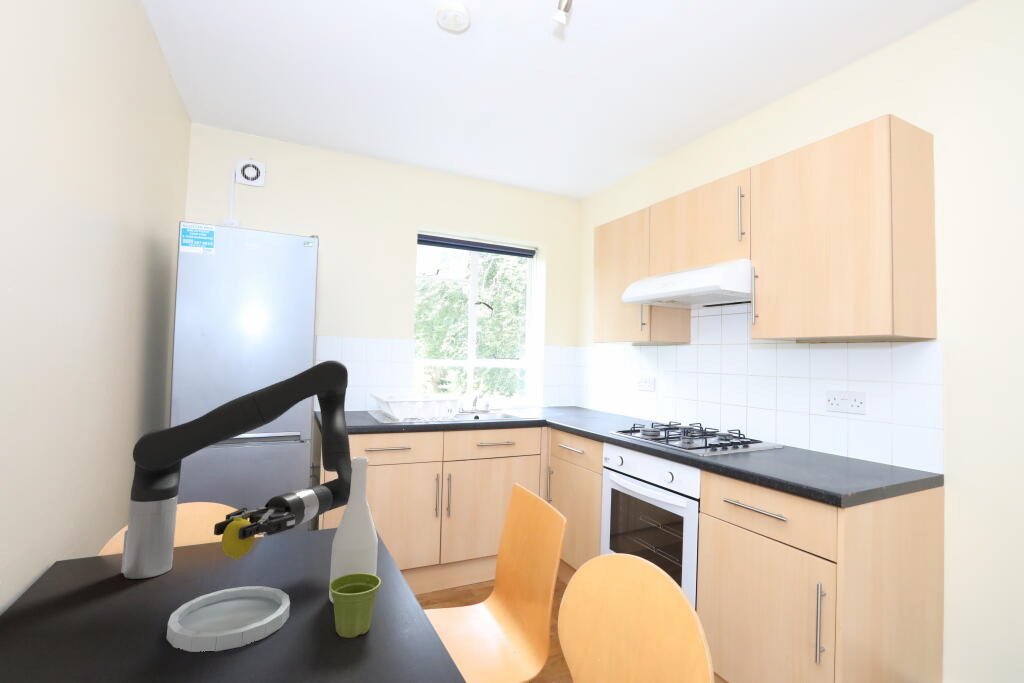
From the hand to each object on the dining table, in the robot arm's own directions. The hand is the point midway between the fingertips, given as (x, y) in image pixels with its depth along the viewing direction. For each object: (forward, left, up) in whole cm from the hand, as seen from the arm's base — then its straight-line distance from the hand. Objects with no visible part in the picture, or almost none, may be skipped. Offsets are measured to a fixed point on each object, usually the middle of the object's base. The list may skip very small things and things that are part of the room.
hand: (228, 531), depth 92 cm
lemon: (0, +3, -6) cm, 7 cm away
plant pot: (+23, +8, -18) cm, 30 cm away
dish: (0, +2, -18) cm, 18 cm away
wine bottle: (+15, +19, -18) cm, 30 cm away
